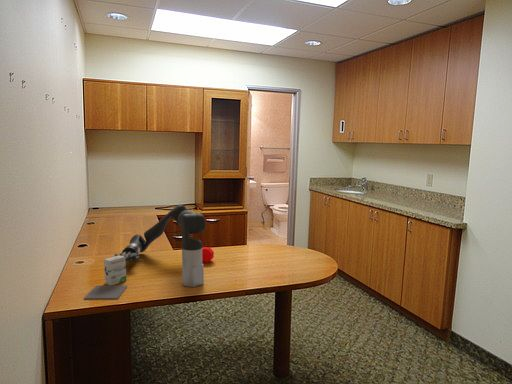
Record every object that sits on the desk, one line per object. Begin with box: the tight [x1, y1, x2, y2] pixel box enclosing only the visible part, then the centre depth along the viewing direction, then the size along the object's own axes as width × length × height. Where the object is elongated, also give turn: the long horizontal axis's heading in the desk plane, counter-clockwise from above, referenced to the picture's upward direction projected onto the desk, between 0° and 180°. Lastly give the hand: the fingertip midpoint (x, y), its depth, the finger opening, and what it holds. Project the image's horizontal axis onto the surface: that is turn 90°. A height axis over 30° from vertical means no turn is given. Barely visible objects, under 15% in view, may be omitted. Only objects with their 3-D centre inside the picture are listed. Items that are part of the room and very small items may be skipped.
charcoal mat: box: [83, 285, 128, 300], centre depth 161 cm, size 14×14×1 cm
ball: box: [202, 246, 215, 264], centre depth 204 cm, size 8×8×8 cm
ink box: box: [103, 254, 128, 286], centre depth 172 cm, size 9×5×12 cm, turn 141°
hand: (121, 262), depth 182 cm, fingers closed
